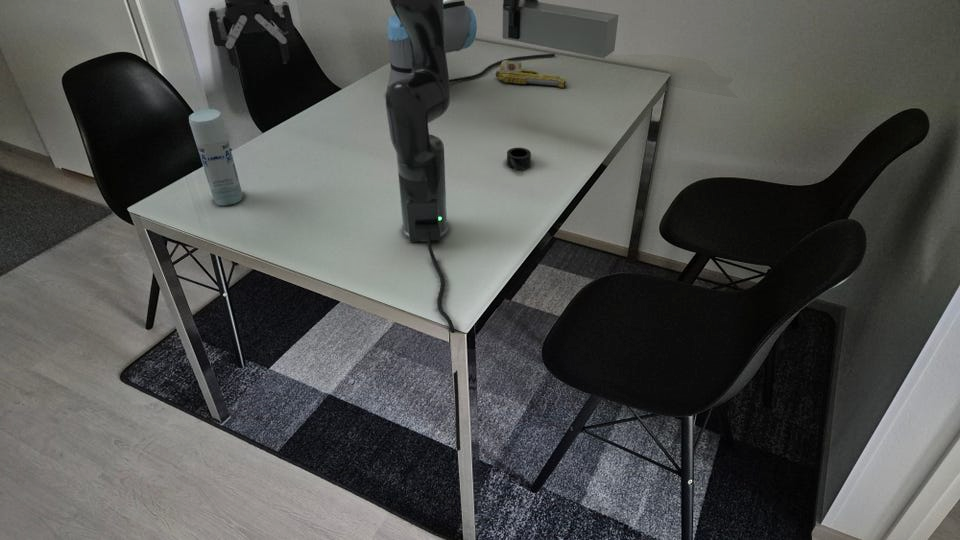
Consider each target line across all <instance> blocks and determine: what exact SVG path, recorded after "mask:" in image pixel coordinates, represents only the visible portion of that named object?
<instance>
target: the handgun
mask: <svg viewBox="0 0 960 540" xmlns="http://www.w3.org/2000/svg"><path fill="white" fill-rule="evenodd" d="M503 60H504V61H503V62H502V63H501V64H499V68H500V70H496V72H495V73H494V75H495V77H496V78H497V79H498V80H500V81H502V82H504V83H511V84H522V85H526V84H532V85H541V86H551V87H552V86H553V87H557V88H562V89H563V88H564V87H565V88H566V87H567V81H566V77H565V78H563V77H561V76H560V75H548V74H547V75H546V74H539V72H538V71H534V70H526V69H523V68H522V65H523V64H522V63H521V61H518V60H512V61H508V60H505V59H503Z"/></svg>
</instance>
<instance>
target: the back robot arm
mask: <svg viewBox="0 0 960 540" xmlns="http://www.w3.org/2000/svg"><path fill="white" fill-rule="evenodd" d="M519 1H520V0H502V2H503V3H502V10H503V9H504V10H507V11H508V12H509V19H508V20H509V21H508V38H512V39H517V40H518V39H519V25H520V11H518V7H519ZM529 1H536V2H539V0H529ZM443 16H444V39H445V51H446V54H448V53H454V52H460V51H461V50H462V51H463V50H465V49H468V48H470V47H471V46H472V45H473V43H474V42H475V39H476V37H477V29H478V24H477V18H476V15H475V12H474V11H473V8H471V7H470V6H468V5H466V3H465V0H443ZM386 27H387V31H386V32H387V33H386V36H387V42H388V43H387V44H388V53H389V62H390V73H389V77H388V81H387V85H386V91H387V90H388V88H389V86H390V85H391V84H392V83H393V82H395V81H397V80H399V79H401V78H403V77H405V76H407V75H409V74H411V72H412V51H411V44H410V40H409V37H408V34H407V32H406V30H405V28H404V27H403V25H402V23H401V22H400V20H399V18H398V17H397V15H396V13H395V12H394V13H393V14H392V15H390V17H389V18H388V20H387V26H386ZM555 56H556V54H555V53H544V54H543V53H542V54H532V55H522V56H516V57H509V58H505V59H502V60H498V61H496V62H494V63H492V64H489V65H488V66H487V67H485V68H484V69H483V70H482V71H480V72H479V73H476V74H473V75H467V76H463V77H457V78H449V83H454V82H460V81H466V80H472V79H475V78H478V77H480V76H482V75H484V74H485V73H487V72H488V71H489V70H490V69H492V68H494V67H496V66H498V65H501V63H502V62H503V61H504V60H508V61H518V60H526V59H537V58H550V57H555Z"/></svg>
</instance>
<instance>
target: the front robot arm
mask: <svg viewBox="0 0 960 540" xmlns="http://www.w3.org/2000/svg"><path fill="white" fill-rule="evenodd" d="M389 2H390V6H391V7H392V9H393V12H394V14H395V13H396V15H397V17H398V18H399V20H400V22H401V23H402V25H403V27H404V28H405V30H406V32H407V34H408V37H409V40H410V44H411V51H412V72H411V74H409V75H407V76H405V77H403V78H401V79H399V80H397V81H395V82H393V83H392V84H391V85H390V86H389V88H388V90H387V89H386V94H385V106H386V107H385V110H386V117H387V124H388V129H389V135H390V136H389V137H390V141H391V144H392V147H393V149H394V151H395V153H396V154H395V155H396V163H397V176H398V185H399V197H400V208H401V218H402V219H401V220H402V233H403V234H404V236H405V237H406V238H407V239H408V240H409V242H410V243H426V244H427V248H428V253H429V255H430V257H431V258H430V260H431V261H432V264H433V266H434V268H435V270H436V272H437V274H438V278H439V281H440V288H439V292H438V294H437V300H436V301H437V302H436V303H437V309H438V312H439V313H440V315H441V316H442V317H443V318H444V319H445V320H446V322H447V324H448V328H449V331H450V333H451V334H455V332H456V329H455V325H454V323H453V321H452V319H451V317H450V316H449V315H448V314H447V313H446V312H445V311H444V309H443V305H442V300H443V295H444V292H445V287H446V286H445V283H446V282H445V277H444V274H443V272H442V269H441V268H440V265H439V264H438V261H437V259H436V256H435V253H434V250H433V246H432V242H435V243H436V242H440V241H441V240H442V239H441V238H443V237H444V236H446V234H447V232H448V229H449V227H448V225H449V224H448V214H447V190H446V188H447V187H446V166H445V165H446V164H445V163H446V162H445V145H444V142H443V140H442V139H441V138H440V137H438V136H436V135H434V134H430V132H429V124H430V123H431V122H433V121H435V120H437V119H438V118H440V117H441V116H443V115H444V114H445V113H446V112H447V110H448V109H449V107H450V102H451V85H450V84H451V82H449V80H450V75H449V68H448V59H447V53H446V51H445V39H444V16H443V0H389ZM224 4H225V8H224V9H221V8H220V9H216V8H215V7H210V8H209V10H208V19H209V24H210V29H211V34H212V39H213V44H214V46H215V47H222V48H225V50H226V51H227V55H228V59H229V63H230V65H231V66H232V67H233V66H234V68H235V69H236V70H238V69H240V68H241V65H240V61H239V56H238V52H237V47H236V45H235V43H236V42H237V40H238V38H239V36H240V34H241V33H244V34H245V35H248V34H252V33H264V32H265V31H267V32H268V33H269V34H270V35H272V36H273V37H274V38H275V39H277V41H278V42H279V44H278V45H279V49H280V54H281V59H282V64H284V65H285V64H288V61H290V58H291V55H290V50H289V45H288V43H289V41H291V40H295V39H296V38H297V33H296V29H295V25H294V21H293V17H292V13H291V9H290V5H289V3H288V2H287V1H283V2H282V3H280V4H272V2H271V0H224ZM275 13H277V14H278V15H279V17H280V18H284V20H285V24H286V30H287V31H285V32H283V31H282V30H281V29H280V28H279V26H278V25H277V24H276V23H275V22H274V21H273V20H272V19H273V17H274V16H275ZM223 18H226V19H227V20H228V21H229V22H230V23H231V24H232V26H231V28H230V31H229V33H228V35H227V37H223V36H222V33H221V28H220V24H221V23H222V22H223ZM452 375H453V390H454V391H453V392H454V414H455V417H454V418H455V419H454V420H455V441H456V442H455V443H456V451H457V452H458V451H461V430H460V396H459V395H460V394H459V393H460V392H459V376H458V375H459V374H458V370H455V371H454V373H453V374H452Z"/></svg>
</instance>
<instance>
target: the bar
mask: <svg viewBox="0 0 960 540" xmlns="http://www.w3.org/2000/svg"><path fill="white" fill-rule="evenodd" d="M518 11H520V25H519V39H518V40H517V39H512V38H508V21H509V20H508V19H509V12H508V11H507V10H504V9H503V8H502V39H503V40H507V41H514V42H518V43H524V44H528V45H534V46H539V47H545V48H549V49H555V50H560V51H565V52H570V53H575V54H581V55H586V56H589V57H595V58H601V59H605V58H606V57H608V56H609V55H611V54H612V53H614V52H615V49H616V48H615V47H616V40H617V31H618V22H619V14H617V13H611V12H603V11H597V10H592V9H586V8H580V7H579V8H578V7H572V6H566V5H561V4H554V3H547V2H542V1H538V2H536V1H529V0H520V1H519V7H518Z"/></svg>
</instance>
